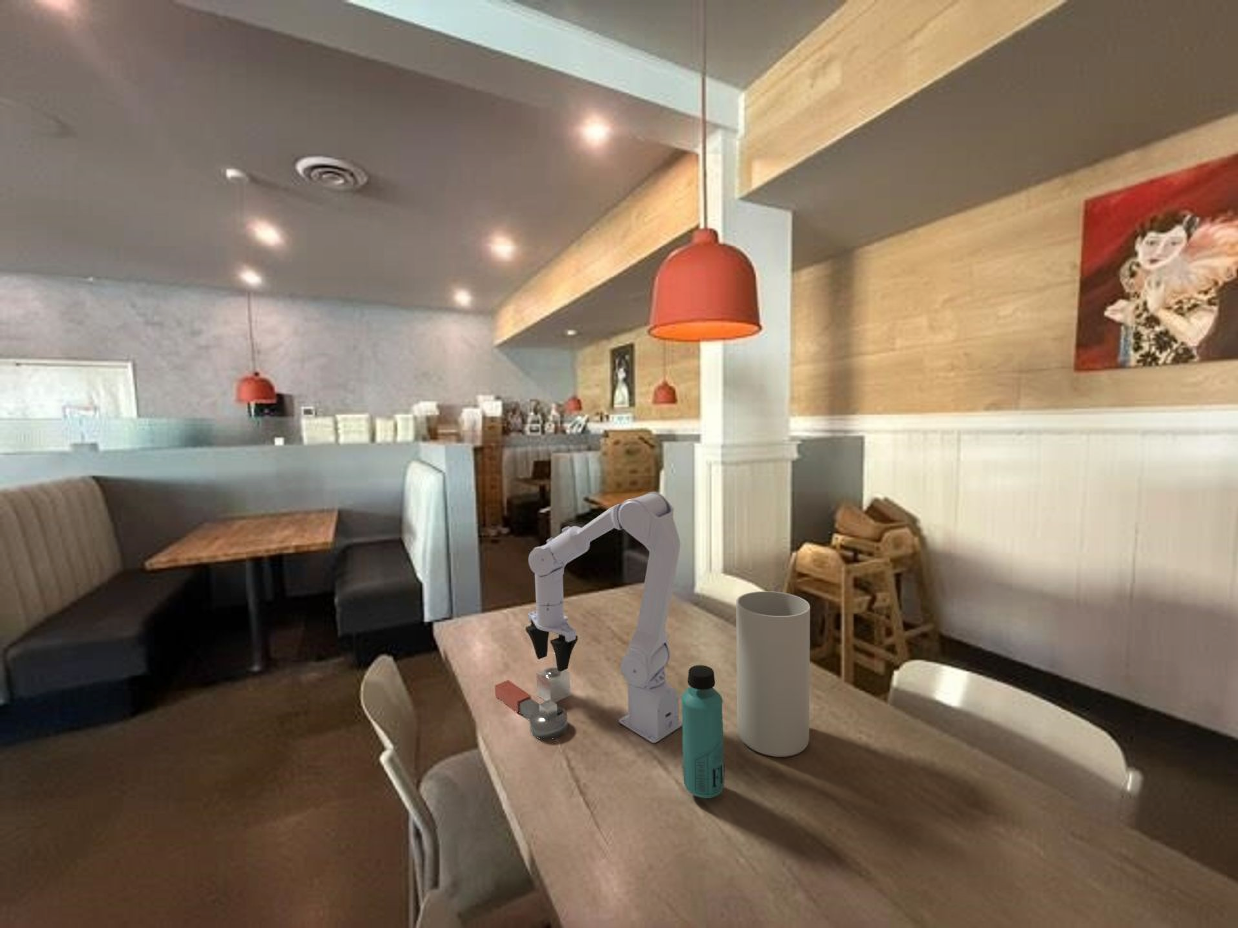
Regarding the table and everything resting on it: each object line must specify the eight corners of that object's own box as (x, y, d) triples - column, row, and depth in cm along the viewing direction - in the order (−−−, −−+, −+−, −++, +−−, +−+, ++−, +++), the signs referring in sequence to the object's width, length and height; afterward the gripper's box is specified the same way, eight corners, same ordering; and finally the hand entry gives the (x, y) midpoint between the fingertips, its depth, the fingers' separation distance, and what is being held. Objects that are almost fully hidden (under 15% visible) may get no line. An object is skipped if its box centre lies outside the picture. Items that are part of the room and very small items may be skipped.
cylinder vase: (759, 709, 103) (759, 586, 100) (821, 735, 94) (822, 602, 92) (723, 737, 94) (722, 604, 92) (787, 769, 85) (788, 623, 83)
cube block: (570, 695, 110) (569, 671, 109) (550, 704, 106) (549, 680, 106) (556, 686, 113) (555, 663, 113) (537, 695, 110) (536, 671, 110)
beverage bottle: (715, 814, 76) (714, 685, 74) (674, 798, 80) (672, 673, 78) (731, 787, 82) (730, 665, 80) (692, 772, 85) (690, 656, 83)
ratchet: (574, 728, 98) (574, 704, 98) (544, 744, 93) (543, 719, 93) (516, 687, 114) (515, 666, 113) (487, 700, 109) (486, 678, 108)
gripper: (586, 604, 105) (588, 668, 107) (545, 588, 116) (548, 646, 117) (558, 614, 101) (560, 681, 102) (518, 596, 111) (521, 656, 113)
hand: (552, 663), depth 109 cm, fingers open, 7 cm apart
